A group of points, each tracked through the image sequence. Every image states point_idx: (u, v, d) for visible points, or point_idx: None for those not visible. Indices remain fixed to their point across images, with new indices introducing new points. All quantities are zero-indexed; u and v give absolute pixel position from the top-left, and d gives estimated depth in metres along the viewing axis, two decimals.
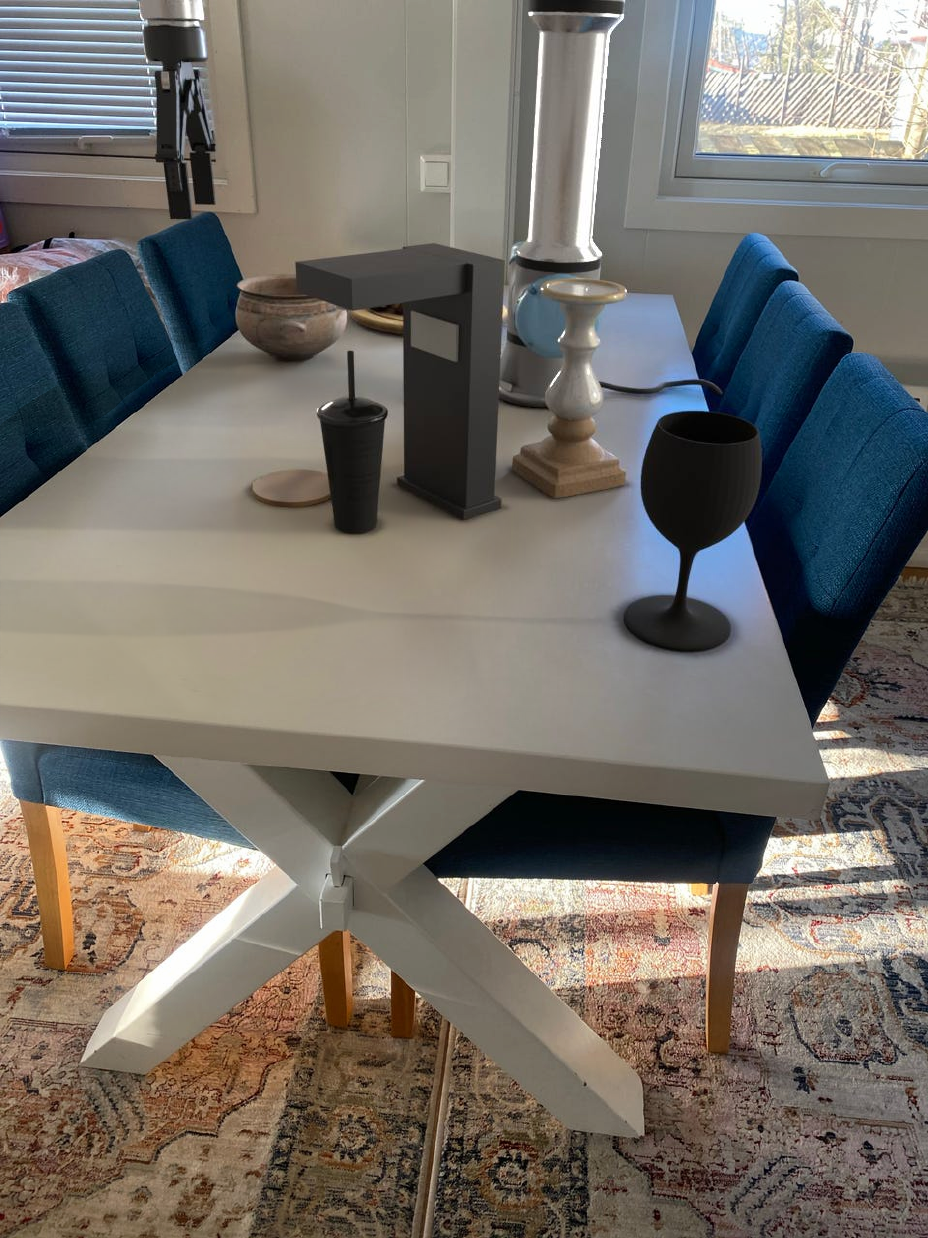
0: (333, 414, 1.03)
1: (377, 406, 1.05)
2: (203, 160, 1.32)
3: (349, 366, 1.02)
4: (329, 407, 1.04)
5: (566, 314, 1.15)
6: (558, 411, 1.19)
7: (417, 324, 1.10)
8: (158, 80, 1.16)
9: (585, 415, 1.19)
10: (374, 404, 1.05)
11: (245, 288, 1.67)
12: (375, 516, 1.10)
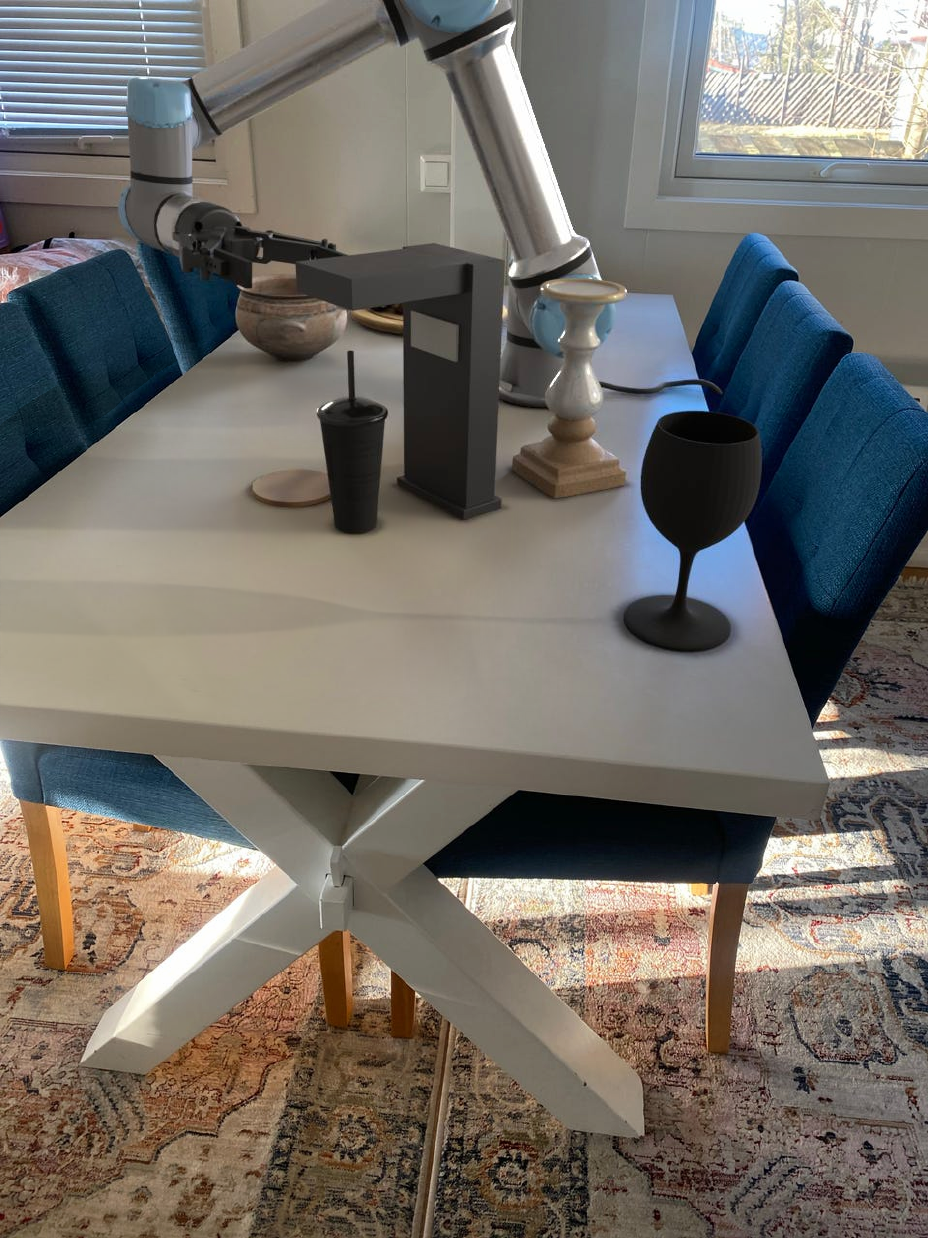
0: (333, 414, 1.03)
1: (377, 406, 1.05)
2: (321, 255, 1.14)
3: (349, 366, 1.02)
4: (329, 407, 1.04)
5: (566, 314, 1.15)
6: (558, 411, 1.19)
7: (417, 324, 1.10)
8: (175, 251, 1.11)
9: (585, 415, 1.19)
10: (374, 404, 1.05)
11: (245, 288, 1.67)
12: (375, 516, 1.10)
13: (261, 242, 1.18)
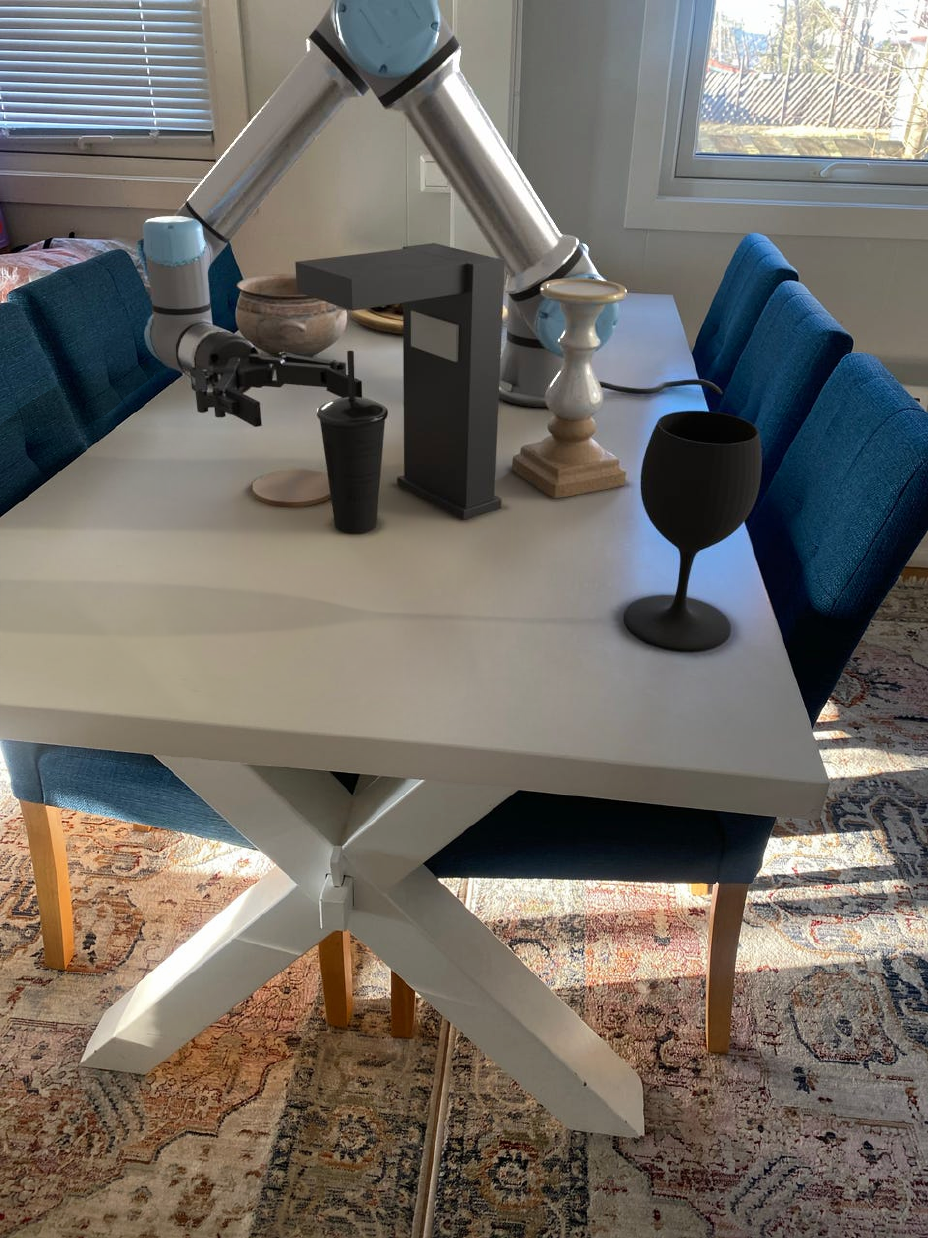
0: (333, 414, 1.03)
1: (377, 406, 1.05)
2: (330, 377, 1.18)
3: (349, 366, 1.02)
4: (329, 407, 1.04)
5: (566, 314, 1.15)
6: (558, 411, 1.19)
7: (417, 324, 1.10)
8: (193, 386, 1.18)
9: (585, 415, 1.19)
10: (374, 404, 1.05)
11: (245, 288, 1.67)
12: (375, 516, 1.10)
13: None
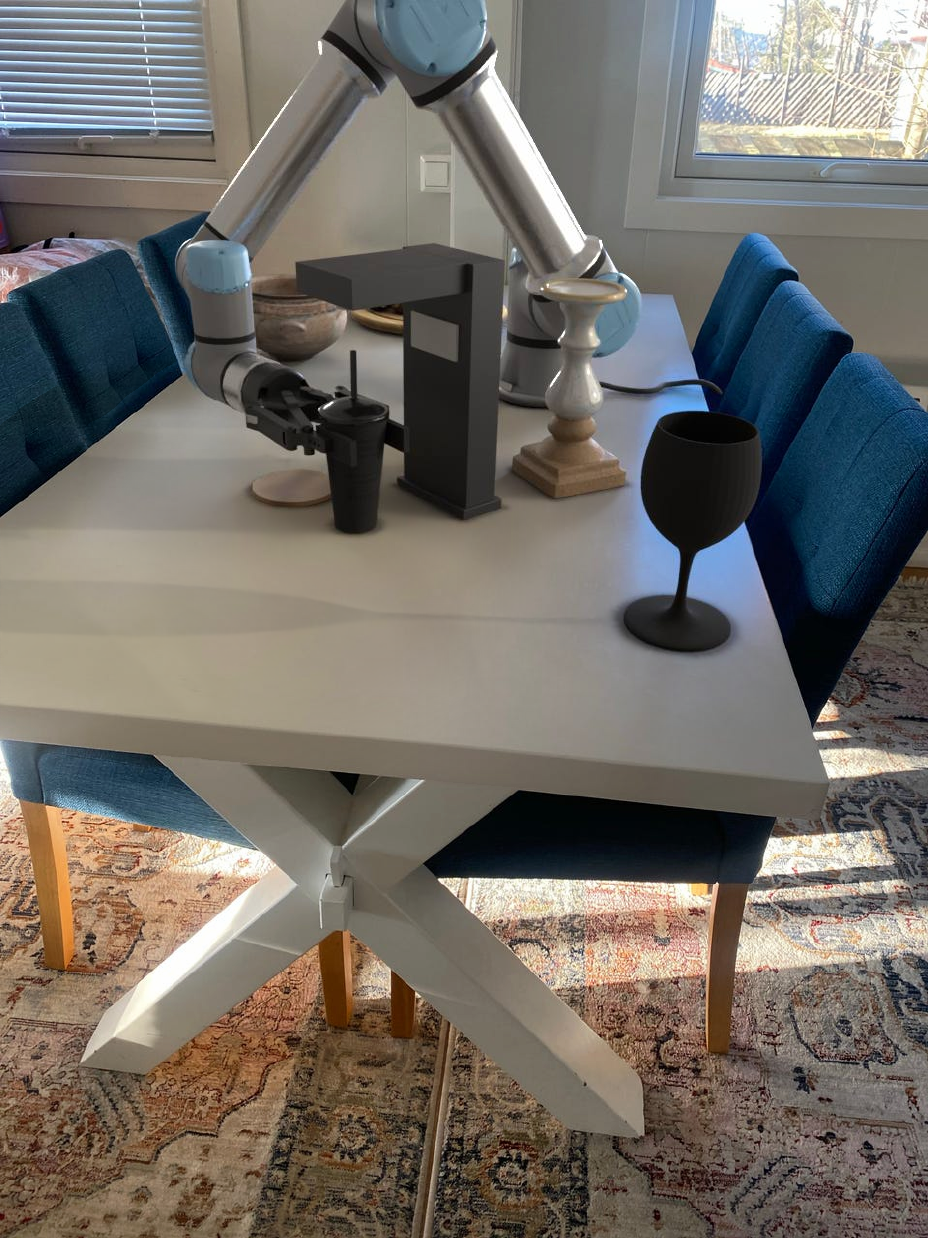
0: (335, 413, 1.03)
1: (379, 406, 1.05)
2: None
3: (352, 365, 1.03)
4: (331, 406, 1.04)
5: (567, 314, 1.15)
6: (558, 411, 1.19)
7: (417, 324, 1.10)
8: (251, 425, 1.10)
9: (585, 415, 1.19)
10: (376, 404, 1.05)
11: None
12: (375, 516, 1.10)
13: None
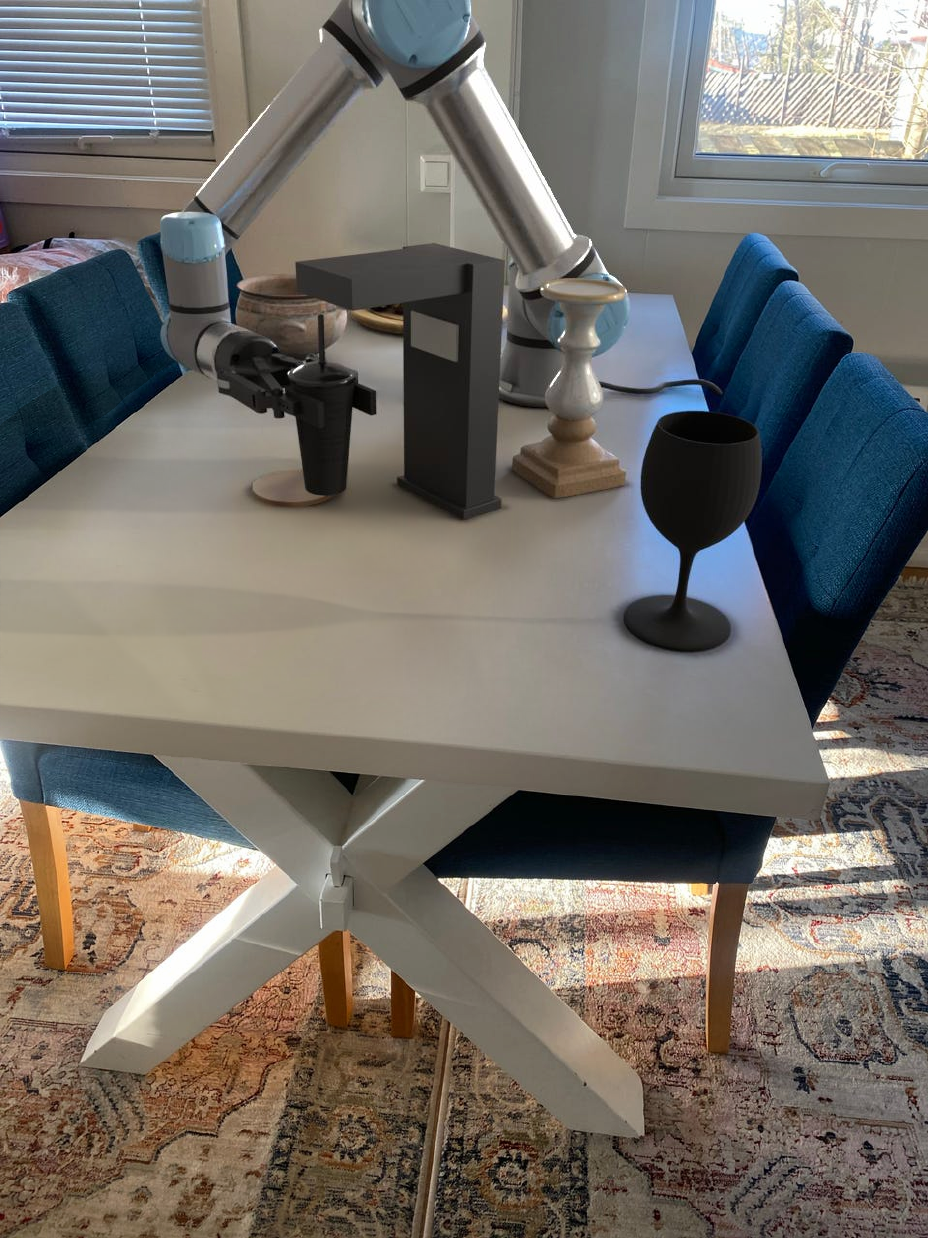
0: (303, 376, 1.06)
1: (347, 370, 1.08)
2: None
3: (319, 329, 1.05)
4: (300, 369, 1.07)
5: (566, 314, 1.15)
6: (558, 411, 1.19)
7: (417, 324, 1.10)
8: (222, 390, 1.13)
9: (585, 415, 1.19)
10: (344, 368, 1.08)
11: (245, 288, 1.67)
12: (344, 478, 1.13)
13: None
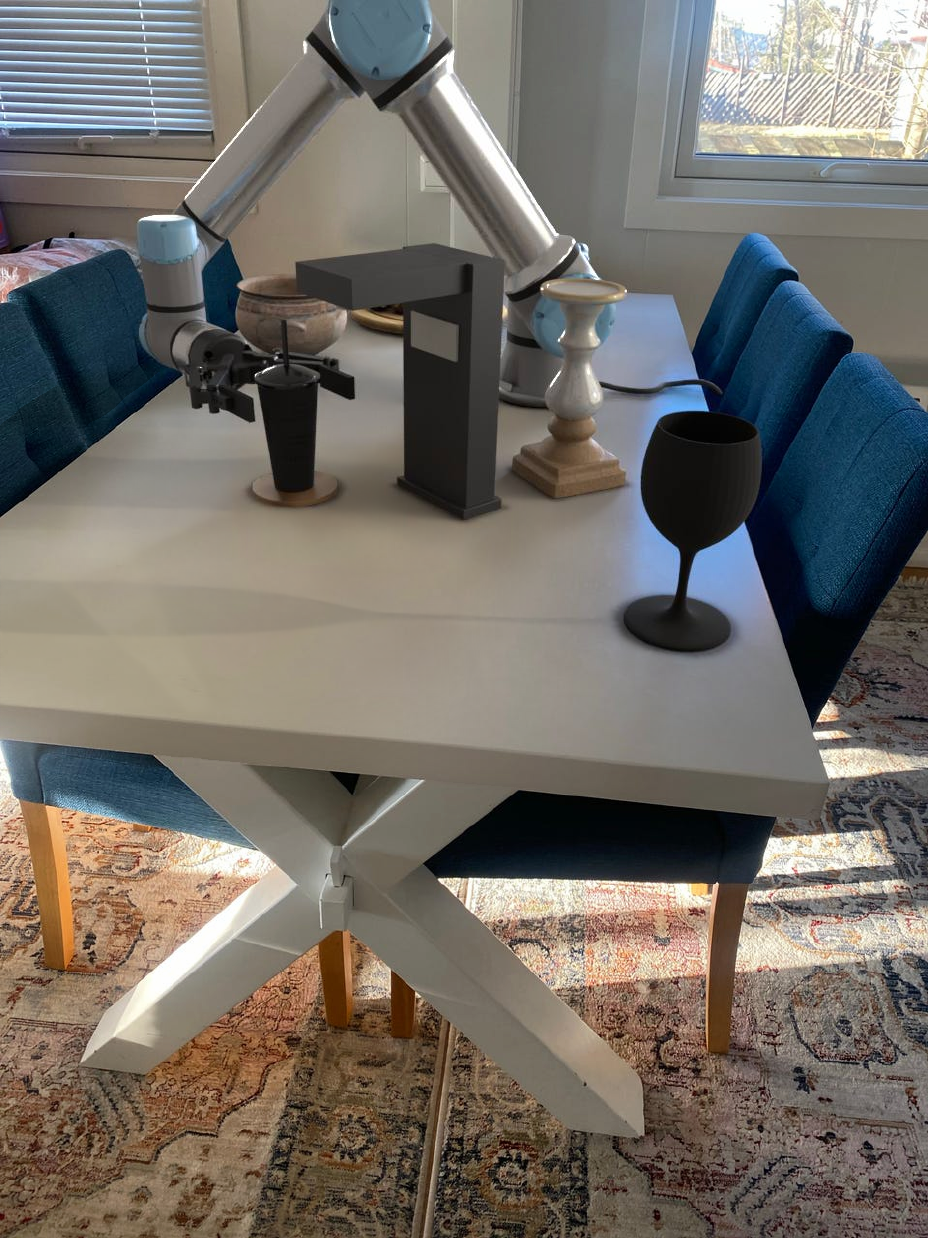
0: (268, 379, 1.11)
1: (310, 372, 1.13)
2: (323, 373, 1.19)
3: (283, 334, 1.11)
4: (265, 372, 1.12)
5: (566, 314, 1.15)
6: (558, 411, 1.19)
7: (417, 324, 1.10)
8: (187, 383, 1.19)
9: (585, 415, 1.19)
10: (307, 370, 1.13)
11: (245, 288, 1.67)
12: (311, 476, 1.19)
13: (269, 361, 1.25)
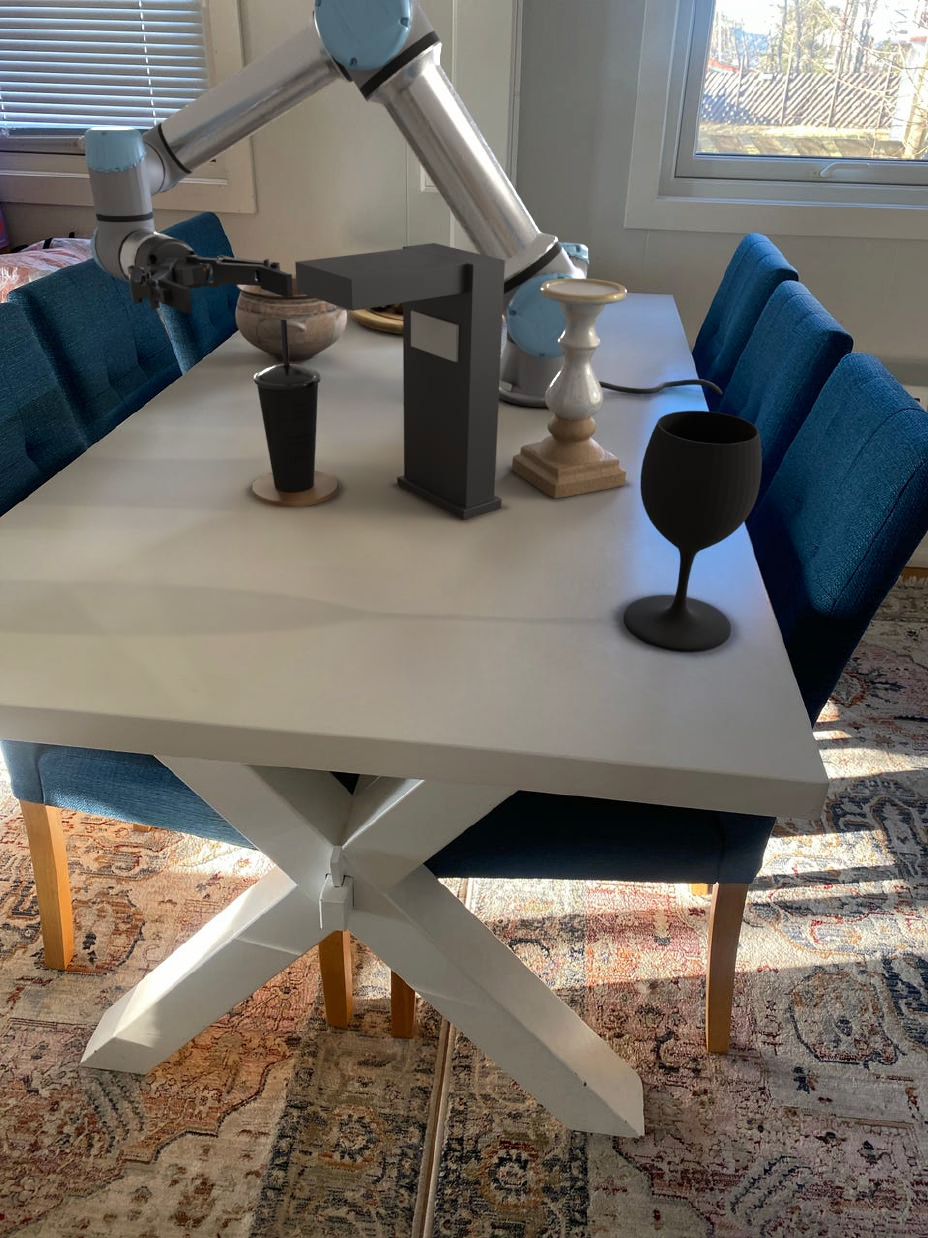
0: (268, 379, 1.11)
1: (310, 372, 1.13)
2: (263, 274, 1.23)
3: (283, 334, 1.11)
4: (265, 372, 1.12)
5: (566, 314, 1.15)
6: (558, 411, 1.19)
7: (417, 324, 1.10)
8: None
9: (585, 415, 1.19)
10: (307, 370, 1.13)
11: (245, 288, 1.67)
12: (311, 476, 1.19)
13: None
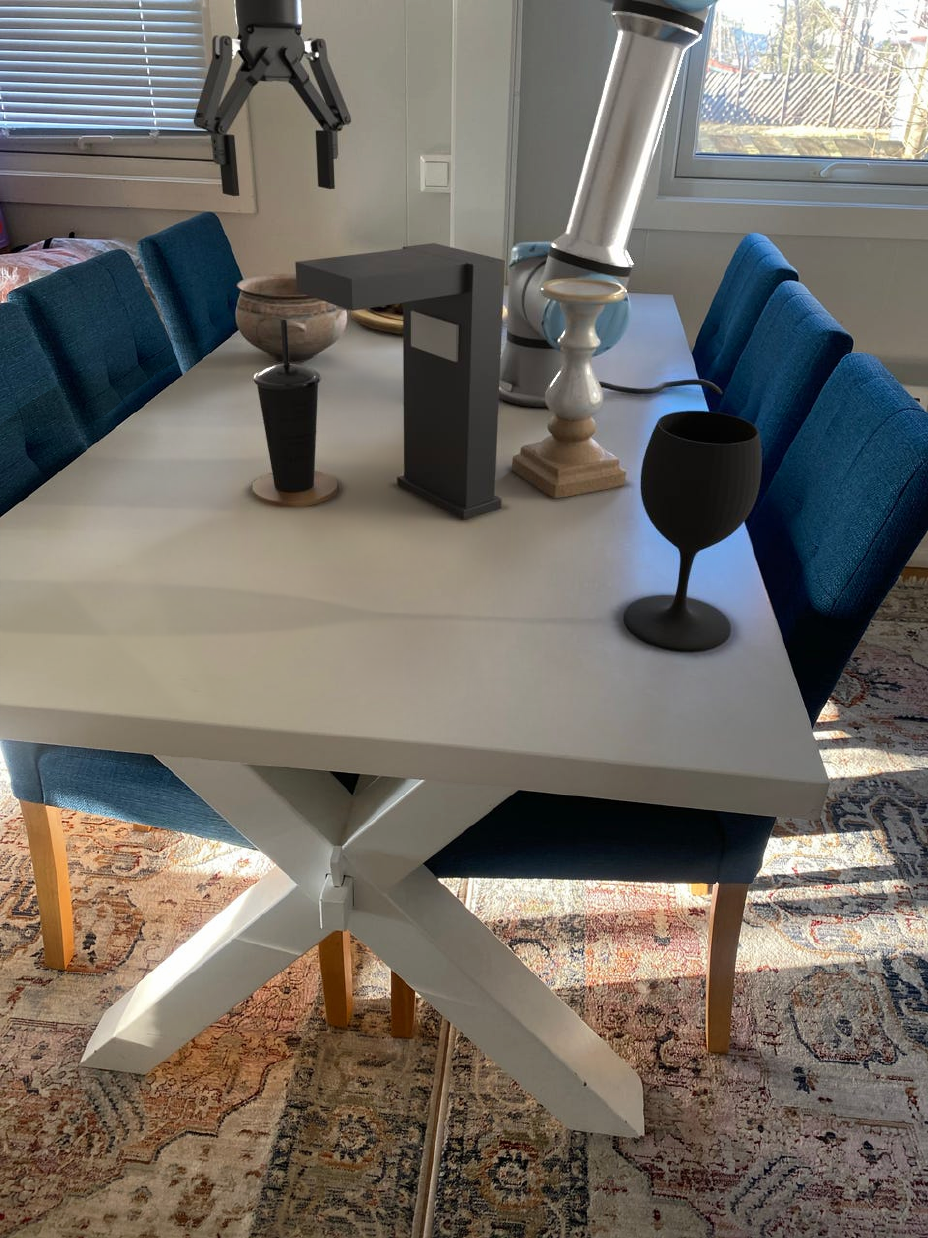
0: (268, 379, 1.11)
1: (310, 372, 1.13)
2: (324, 139, 1.21)
3: (283, 334, 1.11)
4: (265, 372, 1.12)
5: (566, 314, 1.15)
6: (558, 411, 1.19)
7: (417, 324, 1.10)
8: (213, 45, 1.10)
9: (585, 415, 1.19)
10: (307, 370, 1.13)
11: (245, 288, 1.67)
12: (311, 476, 1.19)
13: None
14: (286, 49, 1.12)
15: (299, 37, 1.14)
